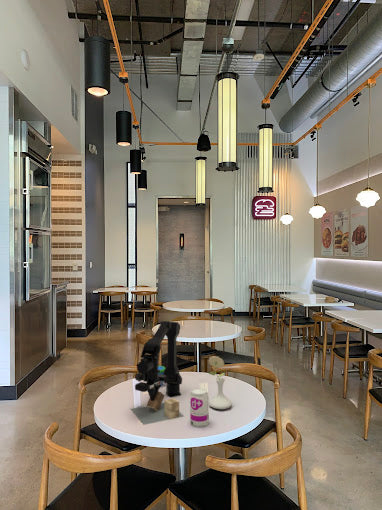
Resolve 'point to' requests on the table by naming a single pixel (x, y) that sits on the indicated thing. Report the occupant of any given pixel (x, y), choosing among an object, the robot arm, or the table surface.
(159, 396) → the walnut block
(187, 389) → the table surface
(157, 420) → the slate mat
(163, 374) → the snack cup
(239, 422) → the table surface
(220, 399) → the flower in vase
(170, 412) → the oak block
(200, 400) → the supplement can
